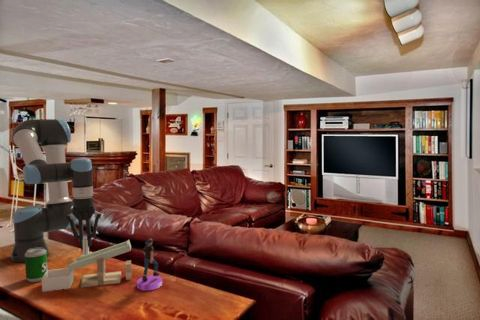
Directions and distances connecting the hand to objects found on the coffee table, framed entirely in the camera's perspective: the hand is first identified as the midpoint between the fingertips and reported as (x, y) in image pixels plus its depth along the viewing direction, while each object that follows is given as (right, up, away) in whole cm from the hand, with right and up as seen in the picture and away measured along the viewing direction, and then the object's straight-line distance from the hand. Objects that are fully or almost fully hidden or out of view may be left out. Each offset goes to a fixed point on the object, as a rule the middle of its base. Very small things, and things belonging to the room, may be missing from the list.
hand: (86, 254), depth 144 cm
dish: (-7, -9, -9) cm, 15 cm away
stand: (+10, -9, -4) cm, 14 cm away
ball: (-2, 0, -9) cm, 9 cm away
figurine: (+28, -9, -9) cm, 31 cm away
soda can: (-18, -9, -3) cm, 21 cm away
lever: (+7, 0, -2) cm, 7 cm away
